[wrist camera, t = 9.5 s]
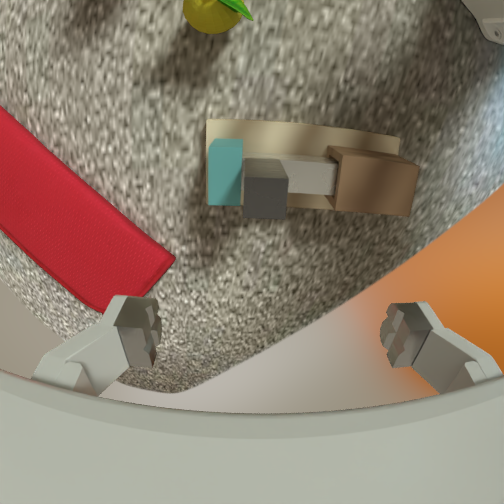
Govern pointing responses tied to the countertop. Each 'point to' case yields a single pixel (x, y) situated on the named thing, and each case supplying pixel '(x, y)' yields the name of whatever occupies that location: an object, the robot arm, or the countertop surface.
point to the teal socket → (225, 172)
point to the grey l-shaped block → (283, 181)
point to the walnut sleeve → (372, 182)
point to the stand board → (295, 145)
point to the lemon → (214, 14)
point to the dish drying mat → (71, 224)
